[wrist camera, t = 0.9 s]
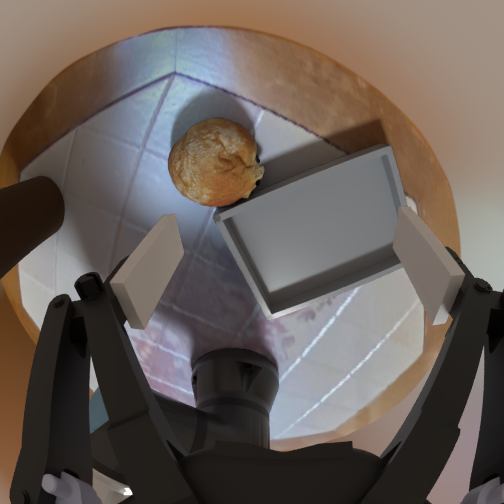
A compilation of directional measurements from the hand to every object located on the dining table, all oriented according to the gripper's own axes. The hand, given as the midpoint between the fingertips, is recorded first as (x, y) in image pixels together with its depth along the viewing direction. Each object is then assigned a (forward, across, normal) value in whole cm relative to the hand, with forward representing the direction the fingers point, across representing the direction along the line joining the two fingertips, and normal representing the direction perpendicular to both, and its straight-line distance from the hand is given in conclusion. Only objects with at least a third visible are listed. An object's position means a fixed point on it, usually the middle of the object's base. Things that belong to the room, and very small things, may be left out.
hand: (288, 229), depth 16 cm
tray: (+17, -4, +9) cm, 20 cm away
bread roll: (+18, +8, 0) cm, 19 cm away
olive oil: (+15, +36, +1) cm, 39 cm away
